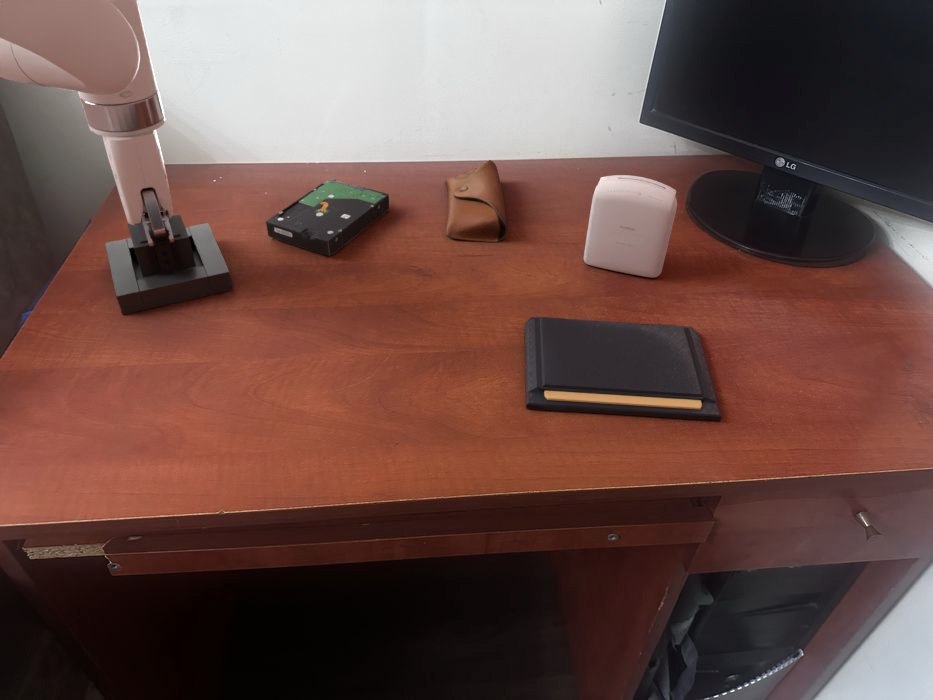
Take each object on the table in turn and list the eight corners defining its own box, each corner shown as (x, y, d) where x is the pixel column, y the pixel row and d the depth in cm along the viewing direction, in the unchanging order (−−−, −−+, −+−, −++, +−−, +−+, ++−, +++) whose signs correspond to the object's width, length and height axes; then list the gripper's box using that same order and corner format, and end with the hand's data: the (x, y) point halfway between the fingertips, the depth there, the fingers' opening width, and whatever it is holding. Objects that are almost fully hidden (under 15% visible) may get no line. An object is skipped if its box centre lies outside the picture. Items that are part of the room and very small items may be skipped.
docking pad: (122, 315, 81) (116, 296, 79) (110, 260, 89) (104, 242, 88) (233, 289, 85) (229, 271, 84) (212, 240, 94) (208, 222, 92)
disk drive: (331, 260, 91) (391, 210, 102) (329, 241, 89) (390, 192, 100) (267, 239, 95) (330, 192, 105) (263, 221, 93) (328, 175, 103)
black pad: (143, 277, 83) (133, 246, 80) (136, 252, 87) (126, 222, 84) (196, 266, 85) (188, 235, 82) (187, 242, 89) (179, 212, 86)
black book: (701, 319, 81) (727, 413, 69) (697, 332, 82) (722, 426, 70) (526, 305, 82) (523, 395, 70) (525, 318, 83) (521, 409, 71)
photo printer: (579, 266, 92) (593, 178, 84) (586, 249, 95) (600, 163, 87) (658, 283, 90) (681, 194, 82) (663, 266, 93) (685, 179, 85)
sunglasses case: (441, 177, 109) (465, 142, 105) (479, 198, 112) (503, 165, 108) (444, 238, 95) (472, 200, 92) (488, 261, 98) (516, 225, 94)
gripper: (78, 86, 78) (122, 229, 90) (92, 147, 67) (141, 302, 78) (150, 78, 81) (184, 218, 93) (175, 135, 69) (211, 286, 81)
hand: (164, 255), depth 85 cm, fingers closed on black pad, 6 cm apart
